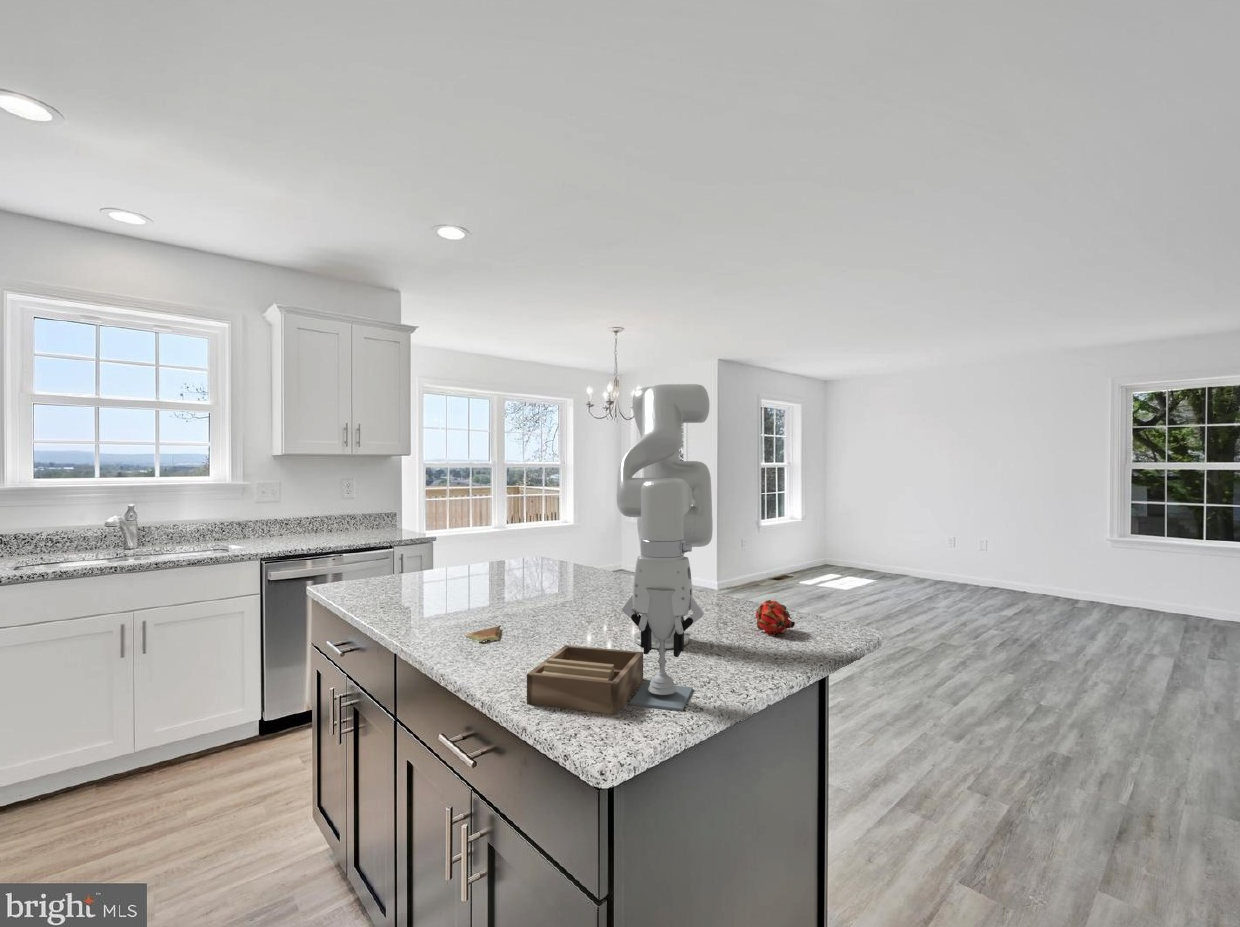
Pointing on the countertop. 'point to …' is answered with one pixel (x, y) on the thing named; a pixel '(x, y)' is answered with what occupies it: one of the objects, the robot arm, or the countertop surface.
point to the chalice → (661, 636)
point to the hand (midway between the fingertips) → (662, 652)
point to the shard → (485, 634)
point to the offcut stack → (579, 669)
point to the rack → (587, 681)
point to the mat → (662, 698)
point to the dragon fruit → (773, 618)
